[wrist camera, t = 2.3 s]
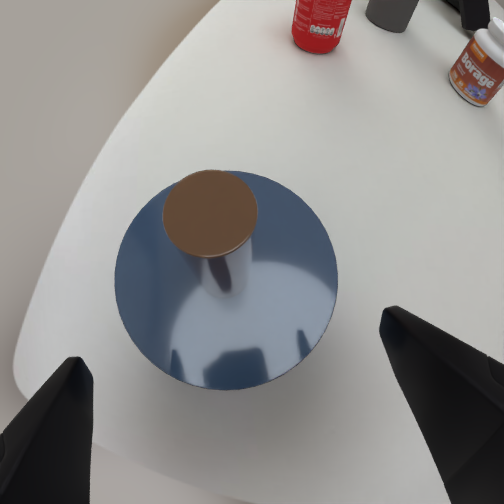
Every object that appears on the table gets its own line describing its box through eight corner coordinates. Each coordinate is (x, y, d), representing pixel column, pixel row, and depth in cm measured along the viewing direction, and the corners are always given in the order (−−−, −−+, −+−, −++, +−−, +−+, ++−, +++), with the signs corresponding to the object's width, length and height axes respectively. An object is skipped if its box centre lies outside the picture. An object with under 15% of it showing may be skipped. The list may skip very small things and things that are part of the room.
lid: (320, 397, 16) (397, 444, 7) (106, 364, 16) (0, 375, 7) (336, 193, 19) (396, 93, 10) (146, 171, 19) (96, 65, 10)
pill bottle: (439, 77, 29) (479, 13, 18) (458, 67, 30) (494, 11, 19) (476, 114, 28) (525, 56, 17) (491, 100, 29) (534, 48, 18)
